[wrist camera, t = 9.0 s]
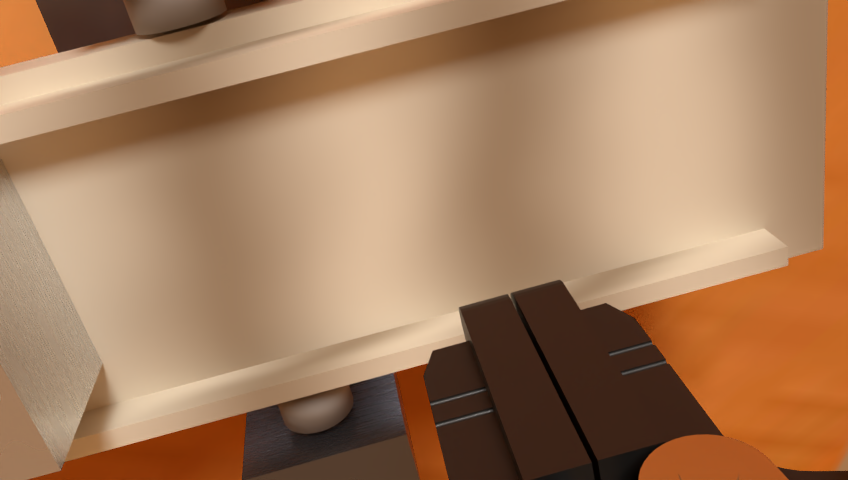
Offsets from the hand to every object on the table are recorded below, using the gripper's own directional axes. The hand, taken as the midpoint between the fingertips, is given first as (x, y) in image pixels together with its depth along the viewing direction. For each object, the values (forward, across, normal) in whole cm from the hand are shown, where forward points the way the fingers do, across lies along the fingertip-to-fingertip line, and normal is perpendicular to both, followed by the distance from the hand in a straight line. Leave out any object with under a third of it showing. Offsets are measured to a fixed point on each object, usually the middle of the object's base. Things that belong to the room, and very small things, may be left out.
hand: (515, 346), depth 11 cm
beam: (+7, +4, 0) cm, 8 cm away
